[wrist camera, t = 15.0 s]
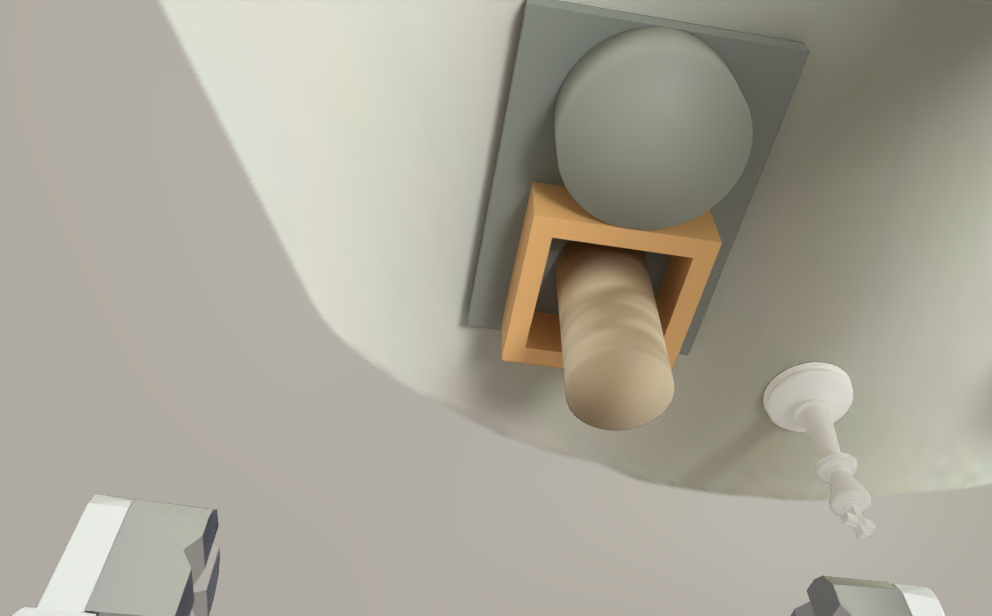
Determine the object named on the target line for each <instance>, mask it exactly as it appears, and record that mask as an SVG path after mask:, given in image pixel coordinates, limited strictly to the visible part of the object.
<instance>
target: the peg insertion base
mask: <svg viewBox="0 0 992 616" xmlns="http://www.w3.org/2000/svg"><path fill="white" fill-rule="evenodd" d="M808 54H809V50H808V49H807V48H806V46H805V45H804V44H803V43H801V42H796V41H790V40H784V39H778V38H772V37H766V36H761V35H755V34H749V33H743V32H737V31H732V30H726V29H720V28H714V27H708V26H702V25H697V24H691V23H685V22H679V21H673V20H667V19H662V18H656V17H650V16H644V15H638V14H632V13H627V12H621V11H615V10H609V9H603V8H598V7H592V6H586V5H580V4H574V3H568V2H563V1H557V0H526V4H525V9H524V15H523V20H522V25H521V31H520V36H519V42H518V47H517V52H516V58H515V63H514V68H513V74H512V79H511V85H510V90H509V95H508V101H507V106H506V112H505V117H504V122H503V128H502V133H501V138H500V144H499V149H498V155H497V160H496V165H495V171H494V176H493V181H492V187H491V192H490V198H489V203H488V208H487V214H486V219H485V224H484V230H483V235H482V241H481V246H480V251H479V257H478V262H477V268H476V273H475V278H474V284H473V289H472V294H471V300H470V305H469V311H468V321H467V326H475V327H482V328H490V329H497V330H502V360H503V361H511V362H518V363H526V364H533V365H541V366H549V367H556V368H563V357H562V344H561V332H560V319H559V307H558V295H557V282H556V262H557V259H558V256H559V254H560V252H561V251H562V249H563V248H564V247H565V246H566V245H567V244H568V243H569V242H570V241H571V240H573V241H579V242H586V243H593V244H600V245H607V246H614V247H621V248H628V249H635V250H641V251H643V252H644V254H645V258H646V262H647V266H648V271H649V275H650V279H651V284H652V288H653V292H654V297H655V301H656V306H657V310H658V314H659V319H660V323H661V327H662V332H663V336H664V340H665V345H666V349H667V354H668V358H669V362H670V367H671V371H672V370H673V367H674V364H675V362H676V359H677V357H678V354H684V355H688V354H689V352H690V349H691V347H692V344H693V342H694V339H695V337H696V334H697V332H698V329H699V327H700V324H701V321H702V319H703V316H704V314H705V311H706V309H707V306H708V304H709V301H710V299H711V296H712V294H713V291H714V289H715V286H716V284H717V281H718V279H719V276H720V274H721V271H722V269H723V266H724V264H725V261H726V259H727V256H728V254H729V251H730V249H731V246H732V244H733V241H734V239H735V236H736V234H737V231H738V229H739V226H740V224H741V221H742V219H743V216H744V214H745V211H746V209H747V206H748V204H749V201H750V199H751V196H752V194H753V191H754V189H755V186H756V184H757V181H758V179H759V176H760V174H761V171H762V169H763V166H764V164H765V161H766V159H767V156H768V154H769V151H770V149H771V146H772V144H773V141H774V139H775V136H776V134H777V131H778V129H779V126H780V124H781V121H782V119H783V116H784V114H785V111H786V109H787V106H788V104H789V101H790V99H791V96H792V94H793V91H794V89H795V86H796V84H797V81H798V79H799V76H800V74H801V71H802V69H803V66H804V64H805V61H806V59H807V56H808Z"/></svg>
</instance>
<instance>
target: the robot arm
mask: <svg viewBox="0 0 992 616" xmlns="http://www.w3.org/2000/svg"><path fill="white" fill-rule="evenodd" d="M217 516H218V515H217V510H215V509H207V508H199V507H192V506H184V505H177V504H169V503H162V502H154V501H147V500H139V499H133V498H124V497H116V496H107V495H98V494H96V495H94V496H93V498H92V499H91V500H90V501H89V502H88V503H87V504H86V505H85V507H84V509H83V511H82V514H81V516H80V518H79V520H78V522H77V524H76V526H75V528H74V530H73V532H72V534H71V536H70V538H69V540H68V542H67V545H66V546H65V548H64V550H63V552H62V554H61V556H60V558H59V561H58V562H57V565H56V567H55V569H54V571H53V573H52V575H51V577H50V579H49V581H48V583H47V585H46V587H45V589H44V591H43V593H42V595H41V597H40V599H39V601H38V603H37V605H36V607H22V608H20V609H19V610H17V611H16V612H15V613H13V614H12V615H11V616H209V613H210V610H211V606H212V602H213V599H214V595H215V589H216V585H217V580H218V574H219V562H220V555H219V553H220V552H219V547H218V546H217V545H216V544H215V543H214V538H215V535H216V532H217V529H218V517H217ZM807 593H808V596H809V599H810V602H808V603H806V604H804V605H802V606H800V607H798V608H796V609H794V611H793V613H792V614H791V616H945V614H944V612H943V609H942V607H941V605H940V603H939V601H938V599H937V597H936V595H935V594H934V593H933V592H932V591H931V590H930V589H929V588H927V587H922V586H913V585H901V584H890V583H888V582H883V581H872V580H862V579H851V578H840V577H831V576H821V577H819V578H817V579H814V581H813V582H812V583H811V585H810V586H809V588H808V589H807Z"/></svg>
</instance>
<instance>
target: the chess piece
mask: <svg viewBox="0 0 992 616" xmlns="http://www.w3.org/2000/svg"><path fill="white" fill-rule="evenodd" d="M852 400H853V389H852V386H851V381H850V378H849V377H848V375H847V374H846V373H845V372H844V371H843V370H842V369H840V368H839V367H837V366H835V365H832V364H828V363H822V362H810V363H804V364H800V365H796V366H793V367H791V368H789V369H787V370H785V371H783V372H781V373H780V374H779V375H777V376H776V377H775V378H774V379H773V380H772V381H771V382H770V383H769V385H768V386H767V388H766V390H765V393H764V396H763V404H764V408H765V410H766V412H767V413H768V415H769V417H770V418H771V420H772V421H773V422H774V423H775V424H776V425H778V426H779V427H781V428H784V429H786V430H790V431H795V432H807V433H808V435H809V436H810V438H811V440H812V441H813V443H814V445H815V447H816V448H817V450H818V452H819V454H820V456H821V458H822V459H821V460H820V461H819V462H818V463H817V465H816V467H815V472H816V475H817V476H818V477H819V478H820V479H821V480H822V481H824V482H827V483H830V498H829V504H830V509H831V510H832V512H833V513H834V514H836V515H838V516H841V519H842V522H843V524H845V525H848V526H850V527H853V528H854V530H855V533H856V535H857V538H858V539H861V540H864V541H865V540H866V539H867V538H869V537H870V534H871V533H872V532H873V531H874V530H876V527H875V525H874V522H872V521H870V520H867V519H864V518H863V516H862V513H863V512H865V511H866V510H867V509H868V508H869V507H870V505H871V502H872V499H871V496H870V494H869V493H868V492H867V491H866V489H865V488H864V487H862V486H861V485H860V484H859V483H858V482H857V480H856V479H855V478H854V477H853V476H854V474H855V473H856V471H857V460H856V458H855V457H854V456H852V455H850V454H847V453H841V450H840V447H839V444H838V440H837V436H836V431H835V427H834V423H835V422H836V421H838V420H839V419H840V418H841V417H842V416H844V414H845V413H846V412H847V411H848V409H849V408H850V406H851V404H852Z"/></svg>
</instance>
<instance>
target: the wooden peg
mask: <svg viewBox="0 0 992 616" xmlns="http://www.w3.org/2000/svg"><path fill="white" fill-rule="evenodd" d="M556 282H557V295H558V307H559V319H560V332H561V344H562V357H563V369H564V381H565V394H566V401H567V404H568V406H569V408H570V410H571V411H572V413H573V414H574V415H575V416H576V417H577V418H578V419H580V420H581V421H583V422H584V423H586V424H588V425H590V426H593V427H596V428H599V429H605V430H627V429H632V428H636V427H640V426H642V425H645V424H647V423H649V422H651V421H653V420H654V419H656V418H657V417H659V416H660V415H661V414H662V413H663V412H664V411H665V410H666V409H667V407H668V406H669V404H670V403H671V401H672V398H673V395H674V389H675V386H674V380H673V375H672V371H671V367H670V362H669V358H668V354H667V349H666V345H665V340H664V336H663V332H662V327H661V323H660V319H659V314H658V310H657V306H656V301H655V297H654V292H653V288H652V284H651V279H650V275H649V271H648V266H647V262H646V258H645V254H644V252H643V251H641V250H635V249H628V248H621V247H614V246H607V245H600V244H593V243H586V242H579V241H573V240H571V241H570V242H569V243H568V244H567V245H566V246H565V247H564V248H563V249H562V251H561V252H560V254H559V256H558V259H557V262H556Z"/></svg>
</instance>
